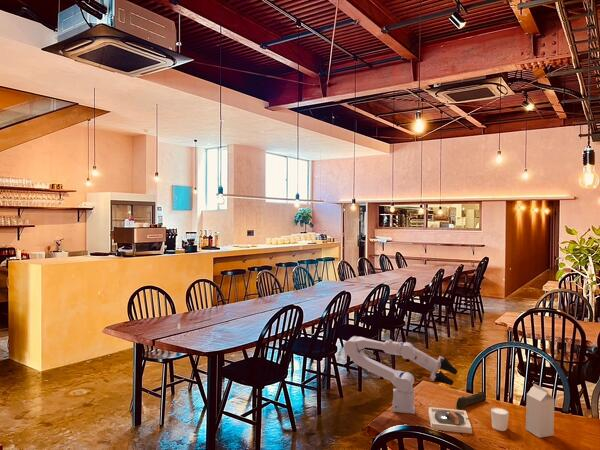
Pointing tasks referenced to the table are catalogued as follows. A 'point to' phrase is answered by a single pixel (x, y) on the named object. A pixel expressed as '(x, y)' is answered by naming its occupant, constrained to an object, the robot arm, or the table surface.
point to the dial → (449, 417)
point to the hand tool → (470, 400)
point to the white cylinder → (499, 418)
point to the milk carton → (540, 412)
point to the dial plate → (447, 427)
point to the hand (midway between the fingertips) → (454, 378)
